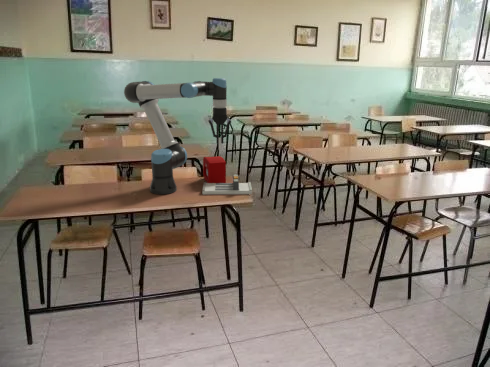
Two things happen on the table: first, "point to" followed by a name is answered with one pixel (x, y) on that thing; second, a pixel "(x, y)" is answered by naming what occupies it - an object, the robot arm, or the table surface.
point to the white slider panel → (227, 188)
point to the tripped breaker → (235, 178)
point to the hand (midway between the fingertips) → (220, 149)
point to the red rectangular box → (214, 169)
